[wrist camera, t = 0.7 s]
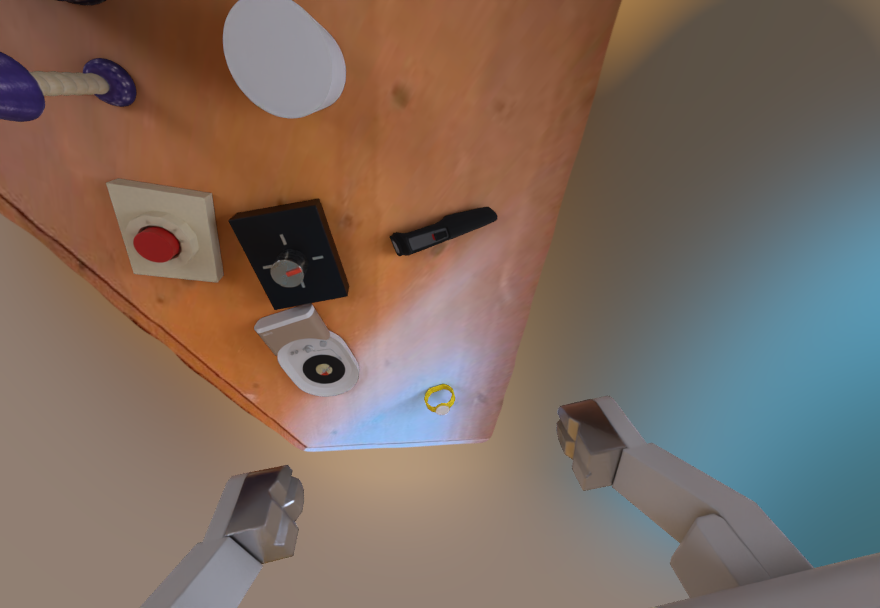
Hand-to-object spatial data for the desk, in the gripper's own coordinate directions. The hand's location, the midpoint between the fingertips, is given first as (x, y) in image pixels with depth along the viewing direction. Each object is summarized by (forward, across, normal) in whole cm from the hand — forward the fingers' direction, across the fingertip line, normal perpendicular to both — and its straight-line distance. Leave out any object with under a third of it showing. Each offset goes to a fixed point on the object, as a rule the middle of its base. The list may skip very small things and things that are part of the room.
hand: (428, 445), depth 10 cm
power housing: (+41, +30, +3) cm, 51 cm away
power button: (+37, +30, +3) cm, 48 cm away
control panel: (+41, +16, +9) cm, 45 cm away
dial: (+38, +16, +9) cm, 42 cm away
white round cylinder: (+41, +7, -12) cm, 43 cm away
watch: (+41, 0, +43) cm, 60 cm away
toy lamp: (+41, +27, -13) cm, 51 cm away
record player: (+41, +20, +28) cm, 54 cm away
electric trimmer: (+41, -5, +9) cm, 42 cm away
